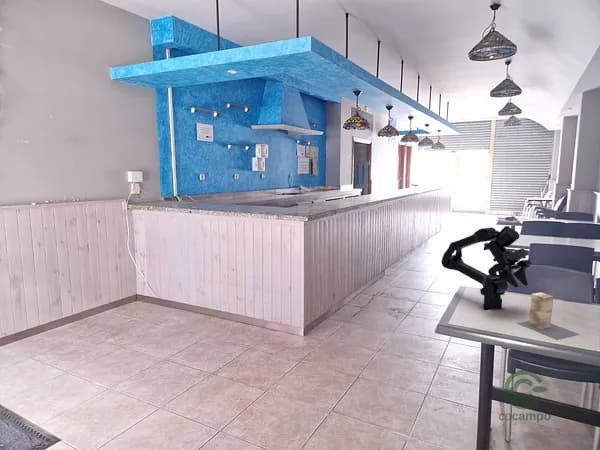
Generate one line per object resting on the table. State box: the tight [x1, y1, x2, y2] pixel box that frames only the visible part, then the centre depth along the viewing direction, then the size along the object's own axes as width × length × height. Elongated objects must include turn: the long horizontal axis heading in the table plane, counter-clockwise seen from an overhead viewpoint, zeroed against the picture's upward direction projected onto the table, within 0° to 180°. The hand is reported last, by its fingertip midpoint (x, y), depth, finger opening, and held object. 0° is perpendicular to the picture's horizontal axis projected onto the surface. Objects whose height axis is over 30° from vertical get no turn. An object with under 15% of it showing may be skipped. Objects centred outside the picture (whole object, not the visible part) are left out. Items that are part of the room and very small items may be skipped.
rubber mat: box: [516, 320, 581, 341], centre depth 146 cm, size 16×12×1 cm
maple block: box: [528, 292, 554, 329], centre depth 147 cm, size 5×5×12 cm
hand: (522, 286), depth 154 cm, fingers open, 5 cm apart
